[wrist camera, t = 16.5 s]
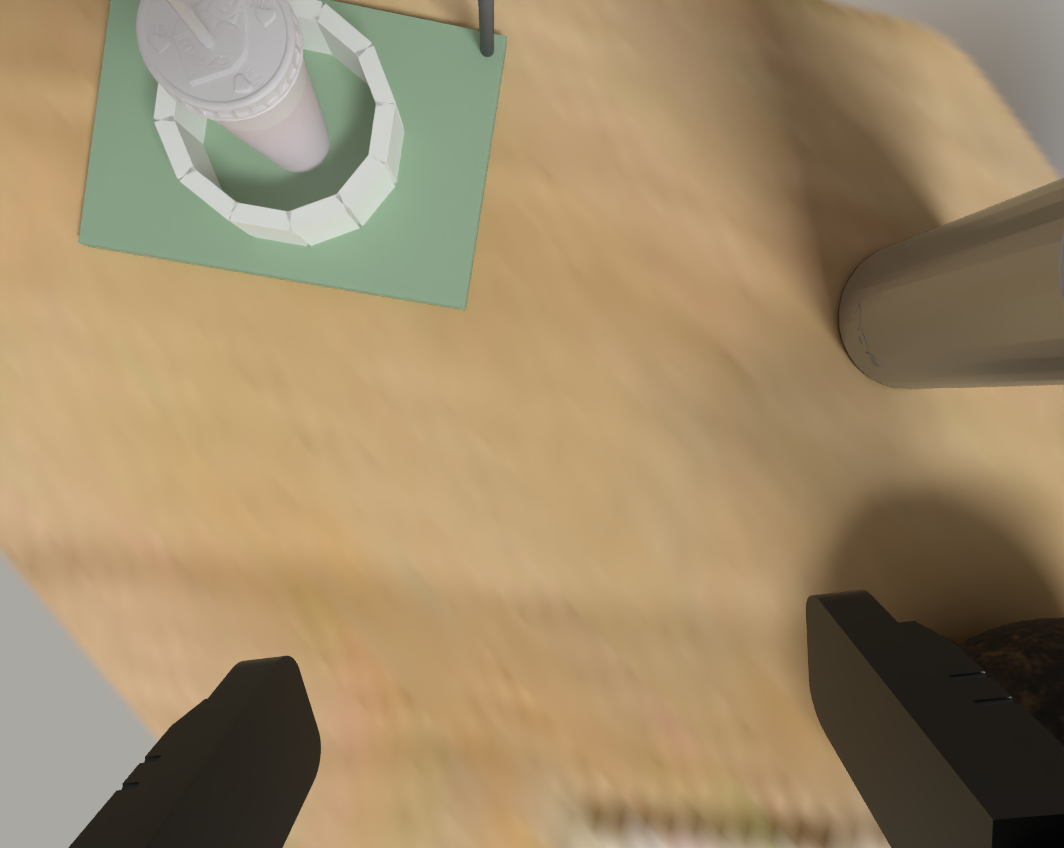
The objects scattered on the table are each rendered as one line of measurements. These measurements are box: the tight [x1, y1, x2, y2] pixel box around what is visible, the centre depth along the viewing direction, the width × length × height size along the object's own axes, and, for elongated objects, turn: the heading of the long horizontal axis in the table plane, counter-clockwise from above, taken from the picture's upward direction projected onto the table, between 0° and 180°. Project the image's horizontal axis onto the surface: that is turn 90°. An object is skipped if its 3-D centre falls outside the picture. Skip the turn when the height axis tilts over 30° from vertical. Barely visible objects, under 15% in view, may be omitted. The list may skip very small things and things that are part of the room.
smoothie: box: [136, 0, 330, 173], centre depth 26 cm, size 6×6×14 cm
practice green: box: [78, 0, 507, 310], centre depth 26 cm, size 22×16×15 cm
